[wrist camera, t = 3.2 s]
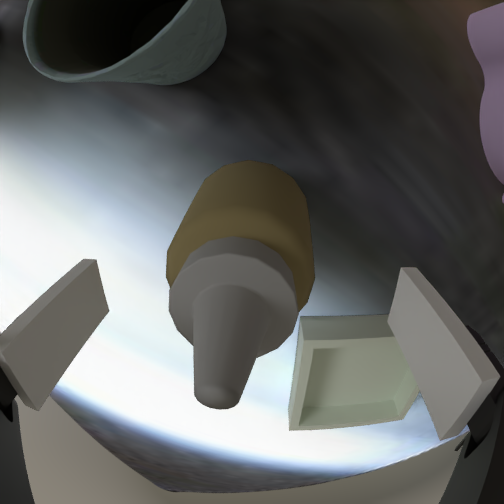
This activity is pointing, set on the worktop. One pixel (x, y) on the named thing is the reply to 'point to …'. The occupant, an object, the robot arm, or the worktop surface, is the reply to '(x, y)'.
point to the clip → (491, 81)
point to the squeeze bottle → (239, 274)
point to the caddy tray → (348, 374)
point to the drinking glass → (123, 39)
